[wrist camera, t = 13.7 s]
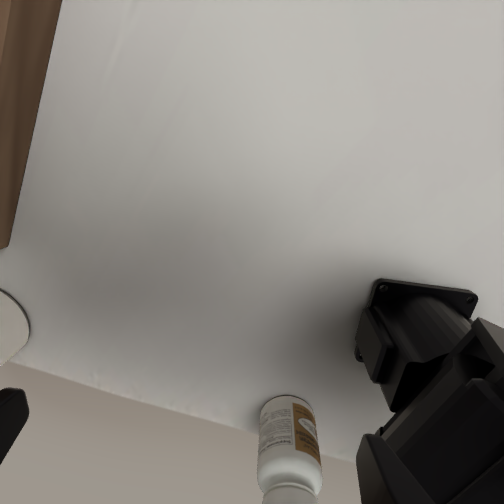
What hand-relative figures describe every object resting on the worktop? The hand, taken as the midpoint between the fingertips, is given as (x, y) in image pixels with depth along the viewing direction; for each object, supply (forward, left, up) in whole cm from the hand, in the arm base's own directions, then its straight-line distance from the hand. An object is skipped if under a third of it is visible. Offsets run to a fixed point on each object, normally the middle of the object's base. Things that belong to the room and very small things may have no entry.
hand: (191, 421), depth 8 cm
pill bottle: (-5, +14, -13) cm, 20 cm away
